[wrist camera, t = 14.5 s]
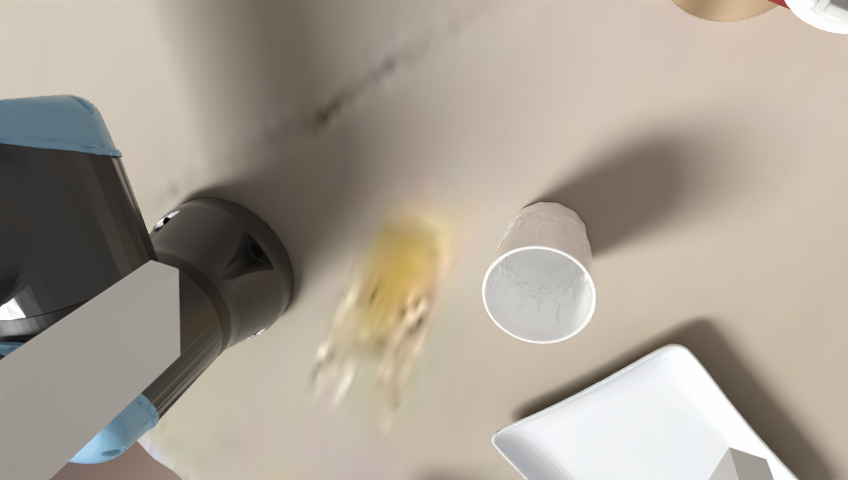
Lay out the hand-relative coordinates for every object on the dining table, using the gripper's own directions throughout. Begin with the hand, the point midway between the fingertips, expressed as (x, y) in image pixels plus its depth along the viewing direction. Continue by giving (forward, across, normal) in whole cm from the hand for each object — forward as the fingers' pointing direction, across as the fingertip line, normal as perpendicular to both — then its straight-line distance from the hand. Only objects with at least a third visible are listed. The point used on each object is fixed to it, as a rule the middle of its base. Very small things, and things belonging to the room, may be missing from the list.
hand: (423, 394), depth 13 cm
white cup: (+35, +4, -11) cm, 37 cm away
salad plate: (+35, +19, -30) cm, 50 cm away
